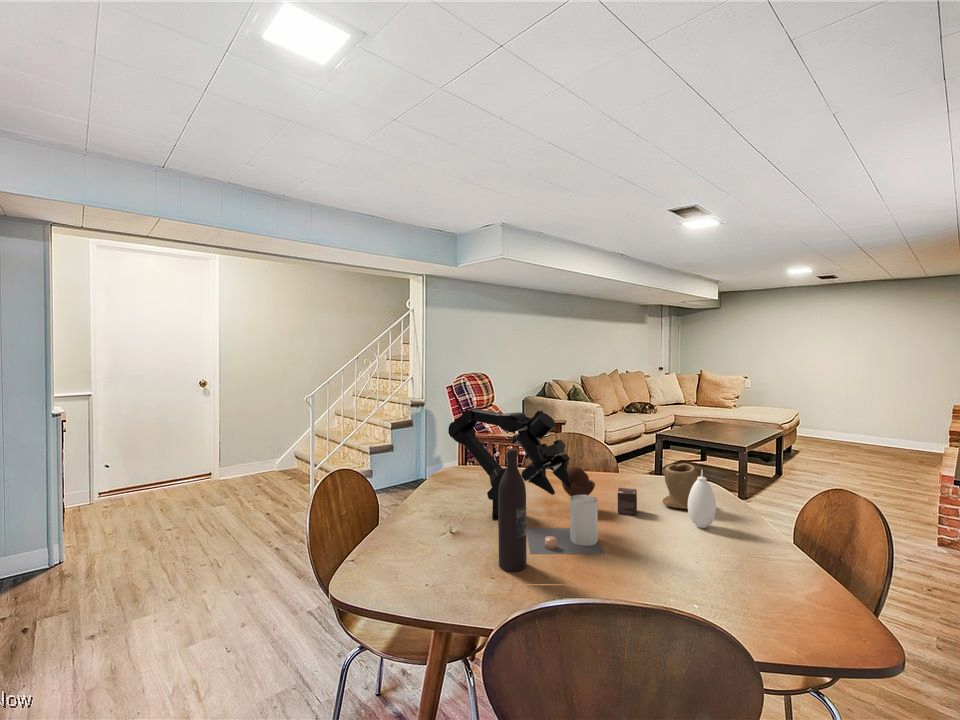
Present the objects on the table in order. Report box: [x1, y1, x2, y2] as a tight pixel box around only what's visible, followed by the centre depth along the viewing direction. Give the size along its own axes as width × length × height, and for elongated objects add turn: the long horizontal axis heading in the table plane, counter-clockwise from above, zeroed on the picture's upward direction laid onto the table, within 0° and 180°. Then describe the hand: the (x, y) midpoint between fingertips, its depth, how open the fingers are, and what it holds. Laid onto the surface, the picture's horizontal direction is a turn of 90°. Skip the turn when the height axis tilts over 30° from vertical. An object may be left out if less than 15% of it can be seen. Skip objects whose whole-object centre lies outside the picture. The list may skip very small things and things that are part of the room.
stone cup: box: [662, 462, 699, 510], centre depth 164 cm, size 15×12×15 cm
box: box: [617, 487, 638, 516], centre depth 161 cm, size 6×6×7 cm
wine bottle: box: [497, 448, 527, 573], centre depth 122 cm, size 7×7×30 cm
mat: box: [526, 527, 606, 555], centre depth 138 cm, size 20×18×1 cm
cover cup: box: [569, 494, 599, 546], centre depth 137 cm, size 7×7×12 cm
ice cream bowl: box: [561, 466, 596, 497], centre depth 163 cm, size 11×11×15 cm
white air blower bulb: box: [687, 469, 717, 529], centre depth 147 cm, size 8×8×18 cm
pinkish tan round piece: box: [545, 536, 557, 550], centre depth 133 cm, size 3×3×2 cm
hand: (562, 490), depth 142 cm, fingers open, 9 cm apart
